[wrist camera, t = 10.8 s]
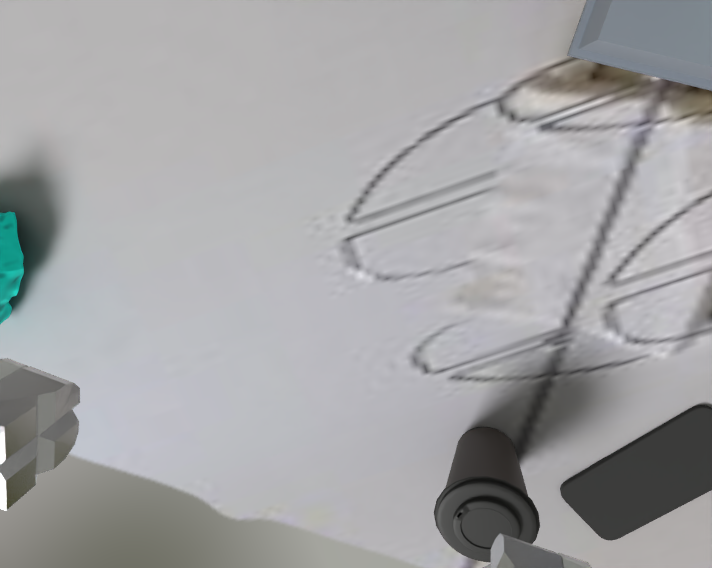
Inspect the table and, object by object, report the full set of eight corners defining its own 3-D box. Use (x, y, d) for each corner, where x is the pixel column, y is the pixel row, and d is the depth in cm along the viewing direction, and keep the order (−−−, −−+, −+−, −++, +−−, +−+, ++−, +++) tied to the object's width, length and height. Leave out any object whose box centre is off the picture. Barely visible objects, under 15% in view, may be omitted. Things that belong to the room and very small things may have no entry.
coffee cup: (442, 410, 51) (433, 480, 41) (534, 418, 49) (545, 493, 40) (441, 482, 53) (431, 564, 44) (528, 492, 52) (537, 579, 42)
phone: (763, 464, 45) (607, 545, 51) (758, 458, 46) (606, 538, 52) (705, 401, 45) (554, 490, 50) (702, 396, 45) (553, 484, 51)
